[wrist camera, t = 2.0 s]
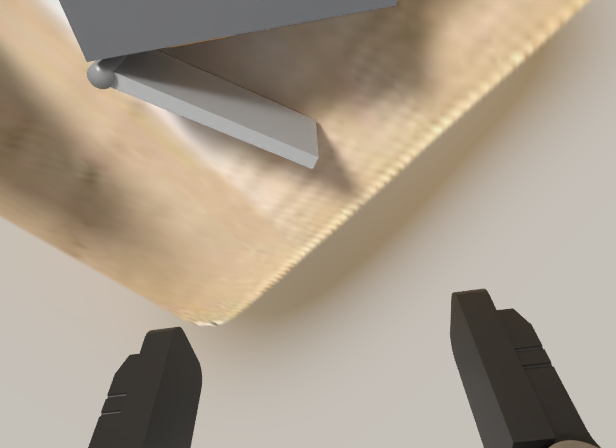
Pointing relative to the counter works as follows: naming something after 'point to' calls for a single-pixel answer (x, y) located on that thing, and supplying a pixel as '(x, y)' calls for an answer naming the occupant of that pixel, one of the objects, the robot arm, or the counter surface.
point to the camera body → (189, 20)
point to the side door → (210, 102)
